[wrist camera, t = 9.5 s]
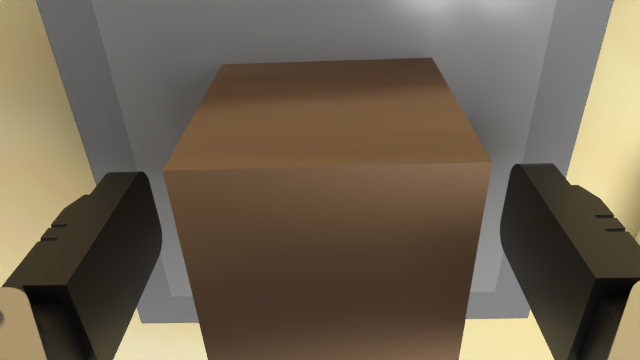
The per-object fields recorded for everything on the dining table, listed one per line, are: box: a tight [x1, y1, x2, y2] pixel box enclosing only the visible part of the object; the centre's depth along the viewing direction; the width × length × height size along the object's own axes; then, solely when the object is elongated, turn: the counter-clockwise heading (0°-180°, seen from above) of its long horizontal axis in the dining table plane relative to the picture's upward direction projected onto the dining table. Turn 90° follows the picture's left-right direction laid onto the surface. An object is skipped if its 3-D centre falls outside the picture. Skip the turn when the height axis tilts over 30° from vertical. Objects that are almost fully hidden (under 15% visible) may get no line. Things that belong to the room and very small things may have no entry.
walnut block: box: [162, 58, 492, 360], centre depth 11 cm, size 5×5×5 cm
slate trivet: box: [36, 0, 614, 323], centre depth 13 cm, size 13×13×1 cm
